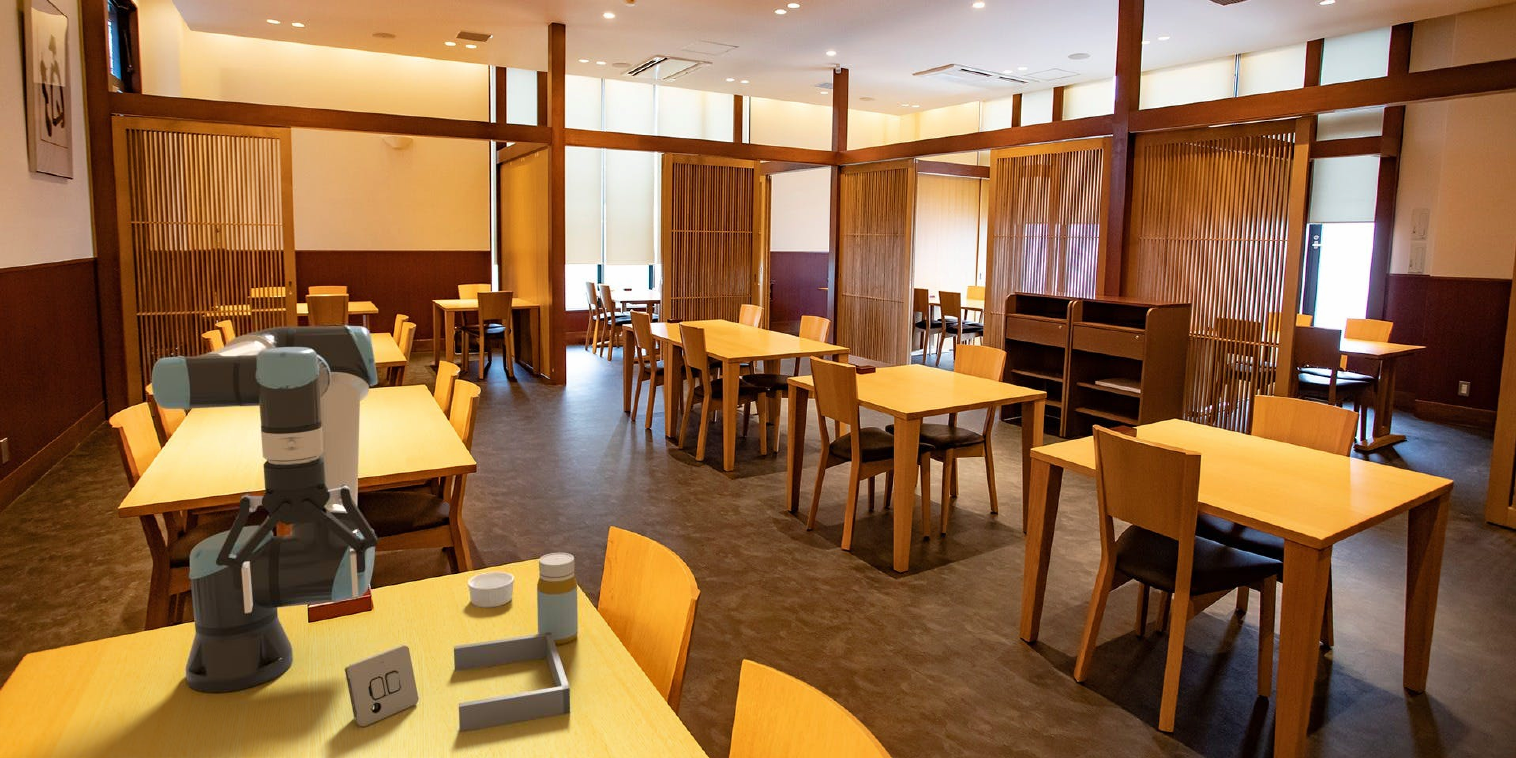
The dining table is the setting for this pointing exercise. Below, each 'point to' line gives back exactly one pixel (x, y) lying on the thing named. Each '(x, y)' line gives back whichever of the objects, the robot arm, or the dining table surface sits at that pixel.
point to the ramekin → (491, 589)
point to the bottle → (557, 597)
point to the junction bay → (520, 703)
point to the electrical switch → (381, 685)
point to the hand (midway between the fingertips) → (303, 601)
